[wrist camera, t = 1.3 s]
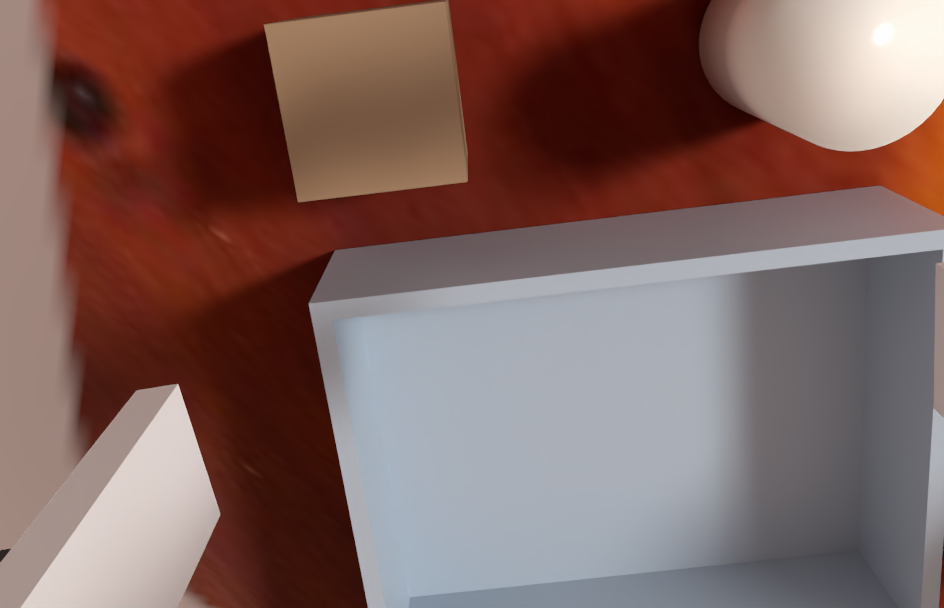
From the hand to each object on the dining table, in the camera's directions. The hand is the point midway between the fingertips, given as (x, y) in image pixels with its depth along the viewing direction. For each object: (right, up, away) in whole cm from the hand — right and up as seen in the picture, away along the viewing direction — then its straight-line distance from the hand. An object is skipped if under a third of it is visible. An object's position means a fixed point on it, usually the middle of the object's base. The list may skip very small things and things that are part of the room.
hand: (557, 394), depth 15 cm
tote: (+4, -2, +18) cm, 19 cm away
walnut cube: (-4, +9, +14) cm, 17 cm away
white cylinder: (+8, +10, +14) cm, 19 cm away
